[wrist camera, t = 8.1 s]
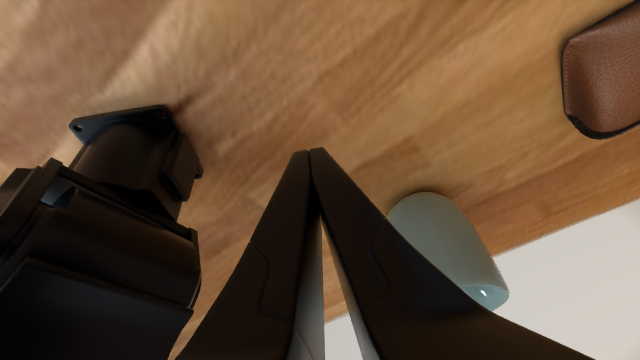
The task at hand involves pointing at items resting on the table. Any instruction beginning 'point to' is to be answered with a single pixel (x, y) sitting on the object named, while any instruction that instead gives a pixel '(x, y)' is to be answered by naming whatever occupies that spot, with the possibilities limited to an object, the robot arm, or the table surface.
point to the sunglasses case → (604, 75)
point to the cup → (450, 245)
